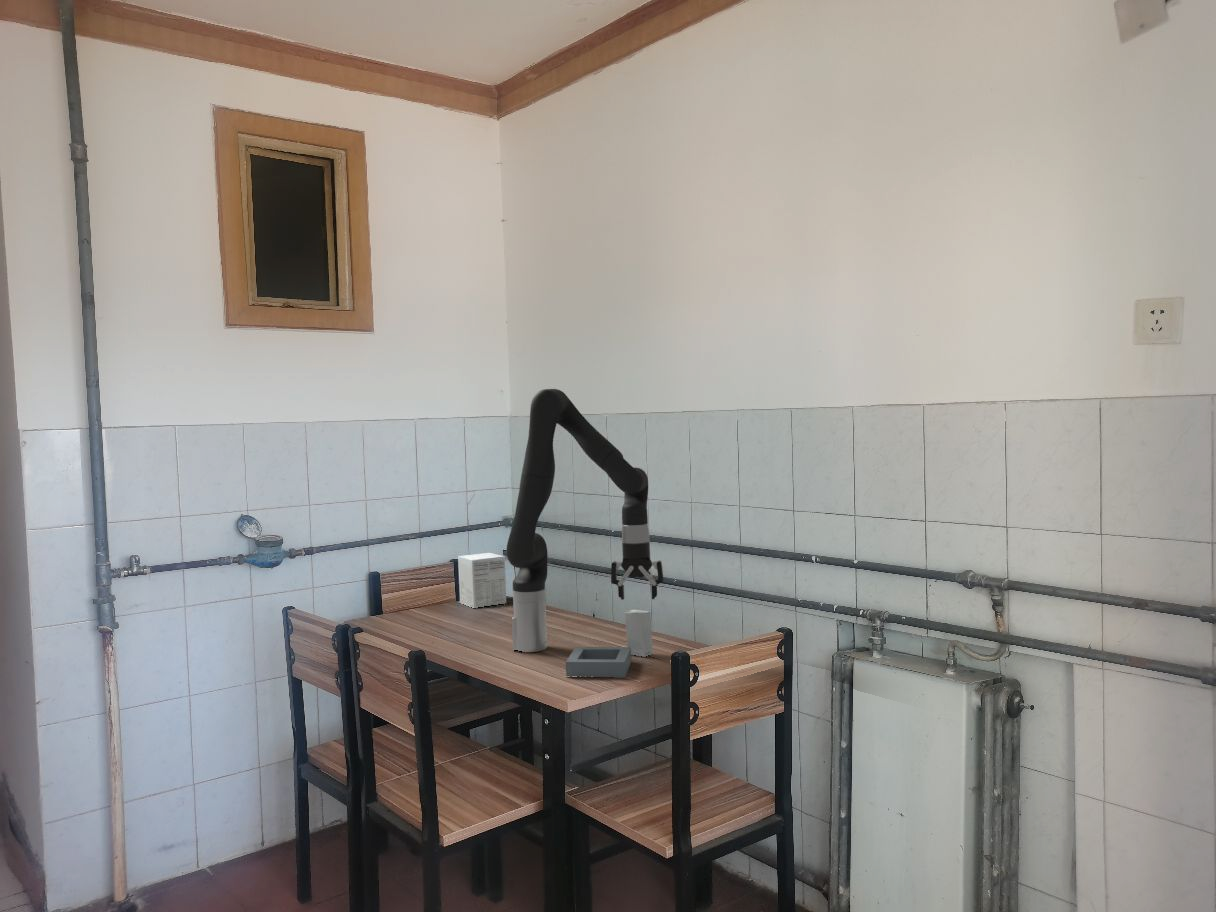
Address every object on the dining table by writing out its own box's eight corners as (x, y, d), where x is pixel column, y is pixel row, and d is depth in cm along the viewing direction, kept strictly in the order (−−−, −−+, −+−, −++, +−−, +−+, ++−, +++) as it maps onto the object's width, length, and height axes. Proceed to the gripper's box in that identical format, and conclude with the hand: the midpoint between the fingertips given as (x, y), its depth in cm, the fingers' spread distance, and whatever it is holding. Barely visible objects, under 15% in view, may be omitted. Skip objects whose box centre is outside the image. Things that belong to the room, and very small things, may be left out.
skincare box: (653, 654, 250) (652, 610, 250) (644, 658, 247) (642, 613, 246) (635, 651, 254) (633, 608, 254) (625, 655, 250) (624, 611, 250)
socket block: (566, 677, 230) (565, 661, 230) (576, 661, 245) (575, 647, 245) (624, 677, 228) (624, 662, 228) (631, 661, 243) (630, 647, 243)
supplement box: (507, 604, 326) (505, 556, 325) (473, 609, 319) (471, 560, 319) (492, 598, 337) (490, 552, 337) (458, 603, 330) (457, 555, 330)
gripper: (608, 542, 246) (610, 602, 247) (660, 541, 244) (662, 601, 245) (611, 539, 254) (614, 596, 254) (662, 538, 252) (664, 596, 252)
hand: (638, 598), depth 250 cm, fingers open, 8 cm apart
